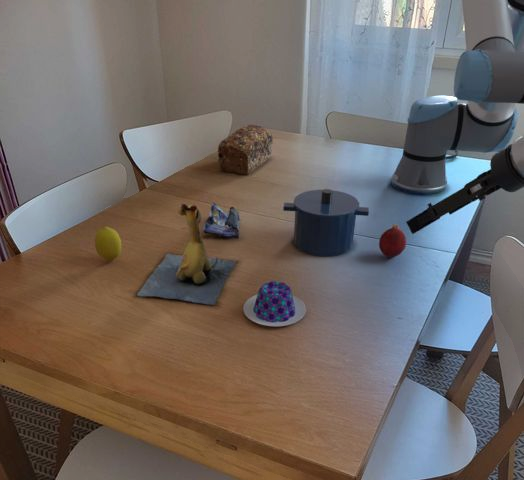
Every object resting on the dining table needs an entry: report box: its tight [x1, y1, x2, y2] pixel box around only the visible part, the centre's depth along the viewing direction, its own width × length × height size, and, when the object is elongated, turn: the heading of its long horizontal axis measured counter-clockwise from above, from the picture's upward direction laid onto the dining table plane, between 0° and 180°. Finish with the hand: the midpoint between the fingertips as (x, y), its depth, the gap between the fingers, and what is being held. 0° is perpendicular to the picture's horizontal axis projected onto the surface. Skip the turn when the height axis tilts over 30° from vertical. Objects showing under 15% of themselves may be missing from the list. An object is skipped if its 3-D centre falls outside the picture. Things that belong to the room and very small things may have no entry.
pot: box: [282, 202, 370, 257], centre depth 125 cm, size 14×19×10 cm
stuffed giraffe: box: [136, 203, 237, 306], centre depth 110 cm, size 16×18×16 cm
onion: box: [378, 223, 407, 259], centre depth 120 cm, size 6×6×8 cm
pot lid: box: [293, 188, 360, 218], centre depth 122 cm, size 15×15×4 cm
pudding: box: [242, 280, 307, 327], centre depth 103 cm, size 12×12×5 cm
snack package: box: [202, 202, 242, 240], centre depth 132 cm, size 12×6×12 cm
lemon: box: [94, 226, 122, 262], centre depth 118 cm, size 6×6×8 cm
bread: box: [217, 124, 274, 176], centre depth 167 cm, size 19×11×10 cm, turn 155°
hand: (429, 217), depth 111 cm, fingers open, 13 cm apart
